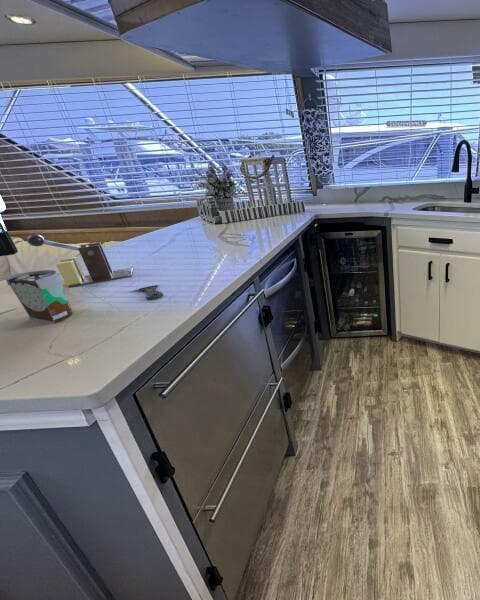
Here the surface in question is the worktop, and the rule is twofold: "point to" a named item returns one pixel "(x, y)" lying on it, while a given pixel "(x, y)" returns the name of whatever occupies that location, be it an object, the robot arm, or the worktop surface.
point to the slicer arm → (47, 242)
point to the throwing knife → (151, 292)
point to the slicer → (99, 266)
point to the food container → (41, 295)
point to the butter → (70, 271)
